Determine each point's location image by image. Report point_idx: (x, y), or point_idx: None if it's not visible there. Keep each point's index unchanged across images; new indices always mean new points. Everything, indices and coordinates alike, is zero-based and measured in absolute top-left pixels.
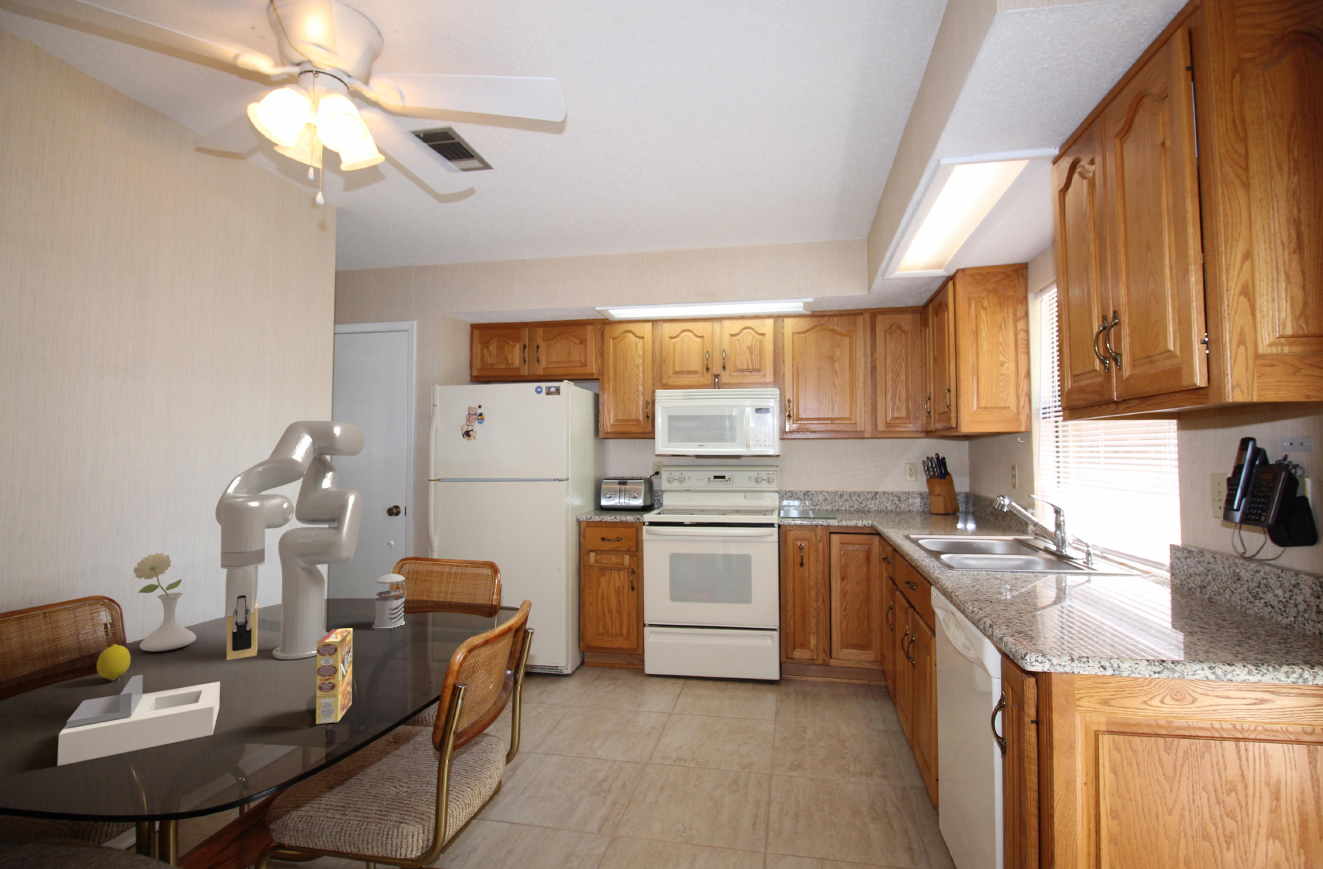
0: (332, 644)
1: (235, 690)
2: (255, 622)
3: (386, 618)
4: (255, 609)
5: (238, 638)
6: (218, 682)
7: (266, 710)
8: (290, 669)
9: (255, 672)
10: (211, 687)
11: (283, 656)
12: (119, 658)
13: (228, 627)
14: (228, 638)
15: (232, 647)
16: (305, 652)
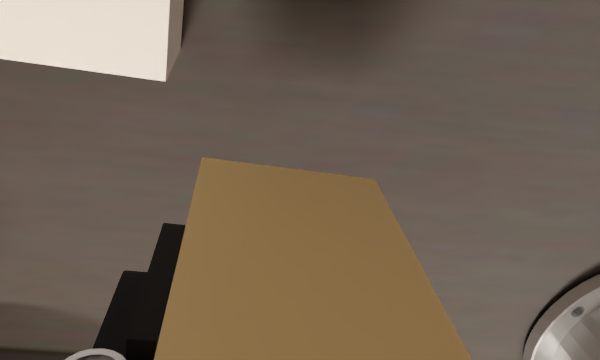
0: None
1: (360, 122)
2: None
3: None
4: None
5: (104, 326)
6: (150, 73)
7: (20, 194)
8: (450, 292)
9: (523, 199)
10: (66, 31)
11: (584, 292)
12: None
13: (159, 349)
14: (178, 260)
15: (162, 236)
16: (549, 349)
